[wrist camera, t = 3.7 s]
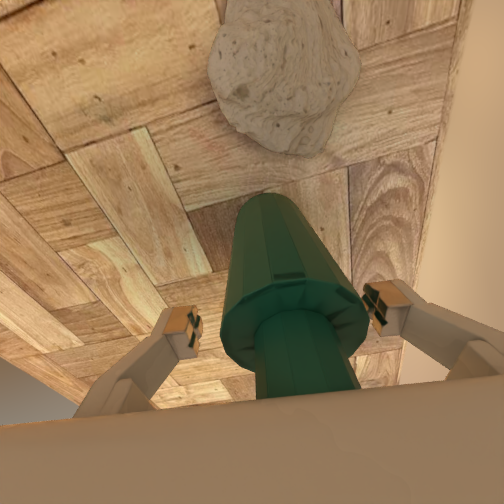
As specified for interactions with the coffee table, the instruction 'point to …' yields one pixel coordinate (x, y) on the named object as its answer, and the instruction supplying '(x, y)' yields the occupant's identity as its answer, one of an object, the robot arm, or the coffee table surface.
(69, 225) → the coffee table surface
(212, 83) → the stone
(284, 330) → the bottle
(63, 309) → the coffee table surface
